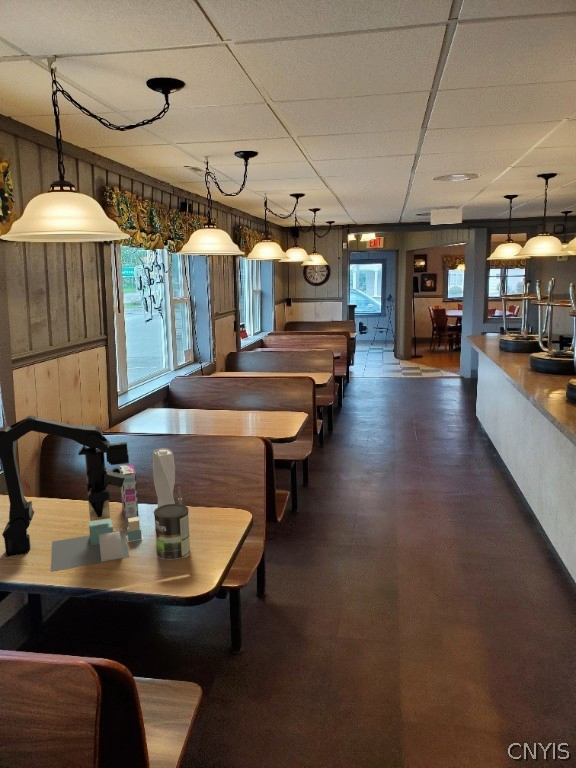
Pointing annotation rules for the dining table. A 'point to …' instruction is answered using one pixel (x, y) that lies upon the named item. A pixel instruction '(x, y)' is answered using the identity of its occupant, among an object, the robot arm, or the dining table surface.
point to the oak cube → (104, 514)
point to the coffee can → (172, 531)
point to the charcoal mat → (79, 552)
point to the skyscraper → (164, 476)
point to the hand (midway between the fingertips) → (99, 513)
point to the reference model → (134, 530)
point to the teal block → (99, 529)
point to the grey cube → (110, 546)
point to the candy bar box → (129, 491)
